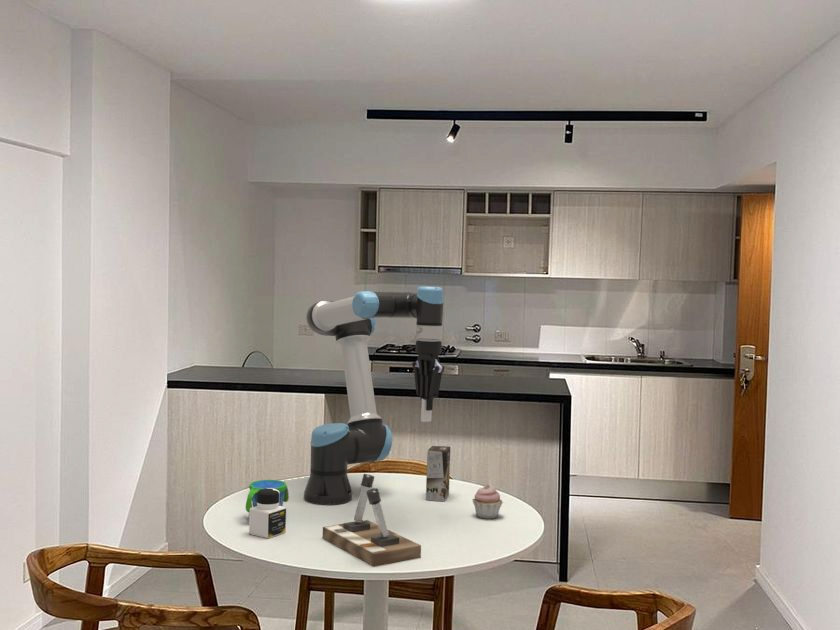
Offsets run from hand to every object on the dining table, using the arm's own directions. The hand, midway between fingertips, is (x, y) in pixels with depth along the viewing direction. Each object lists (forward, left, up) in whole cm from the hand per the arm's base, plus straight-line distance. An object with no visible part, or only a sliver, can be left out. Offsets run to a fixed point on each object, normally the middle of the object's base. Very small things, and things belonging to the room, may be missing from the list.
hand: (426, 421), depth 246 cm
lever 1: (+6, -26, -25) cm, 37 cm away
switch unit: (+13, -26, -29) cm, 41 cm away
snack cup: (-24, -38, -30) cm, 54 cm away
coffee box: (-20, +20, -30) cm, 41 cm away
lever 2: (+20, -26, -25) cm, 41 cm away
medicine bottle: (-11, -44, -30) cm, 54 cm away
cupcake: (+5, +20, -30) cm, 36 cm away
